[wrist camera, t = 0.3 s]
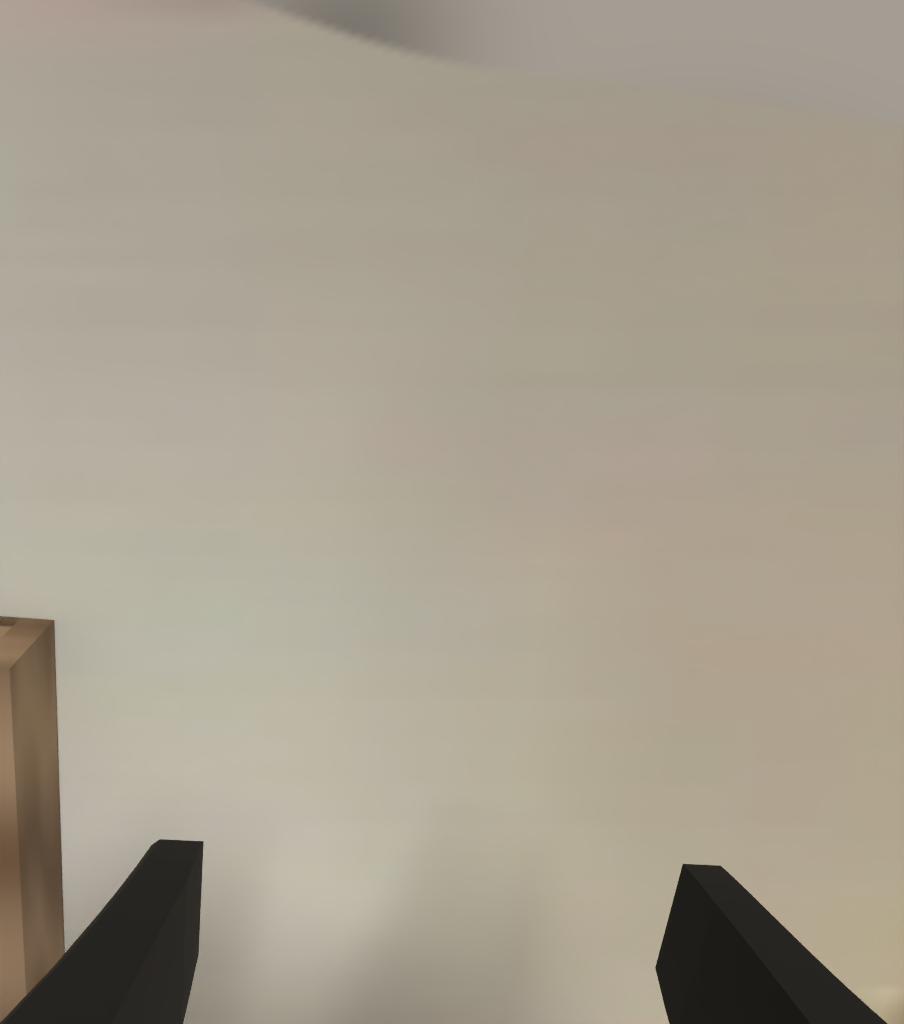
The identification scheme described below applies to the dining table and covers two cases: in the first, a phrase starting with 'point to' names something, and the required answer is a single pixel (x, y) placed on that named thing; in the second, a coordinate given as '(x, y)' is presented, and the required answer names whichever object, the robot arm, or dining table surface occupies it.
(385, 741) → the dining table surface
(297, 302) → the dining table surface
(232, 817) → the dining table surface
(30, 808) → the brown tray
